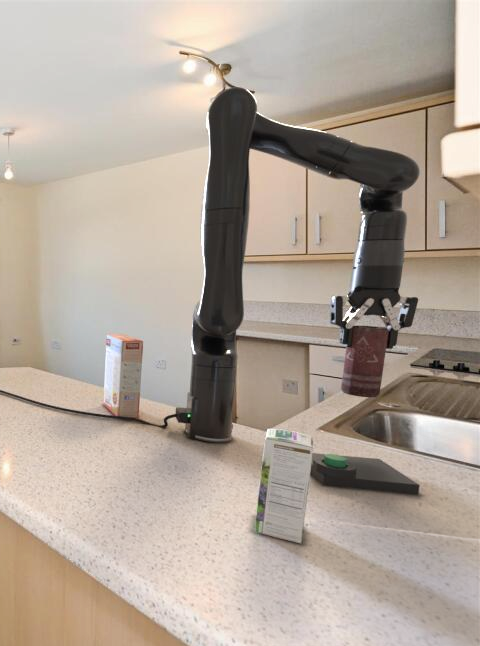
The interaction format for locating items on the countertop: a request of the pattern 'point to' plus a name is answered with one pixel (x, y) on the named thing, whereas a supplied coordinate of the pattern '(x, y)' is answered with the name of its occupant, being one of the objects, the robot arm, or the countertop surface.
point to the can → (365, 361)
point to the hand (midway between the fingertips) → (366, 347)
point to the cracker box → (123, 375)
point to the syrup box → (284, 484)
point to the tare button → (335, 460)
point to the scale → (362, 475)
